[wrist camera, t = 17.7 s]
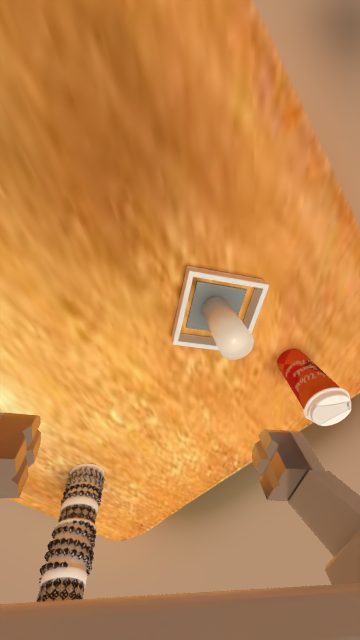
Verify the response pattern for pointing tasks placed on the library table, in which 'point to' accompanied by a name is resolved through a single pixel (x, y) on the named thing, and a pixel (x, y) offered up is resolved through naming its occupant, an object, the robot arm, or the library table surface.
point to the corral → (211, 290)
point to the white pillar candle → (227, 328)
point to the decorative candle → (73, 536)
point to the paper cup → (314, 389)
